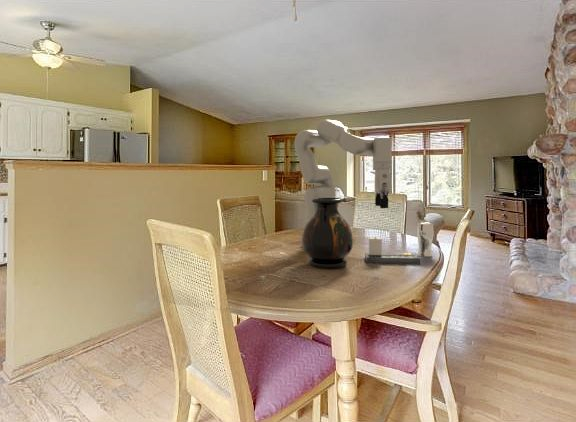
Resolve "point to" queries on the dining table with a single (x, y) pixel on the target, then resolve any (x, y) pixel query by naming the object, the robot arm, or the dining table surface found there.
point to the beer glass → (425, 238)
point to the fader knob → (375, 246)
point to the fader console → (393, 258)
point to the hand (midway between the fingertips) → (381, 206)
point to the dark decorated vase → (327, 235)
